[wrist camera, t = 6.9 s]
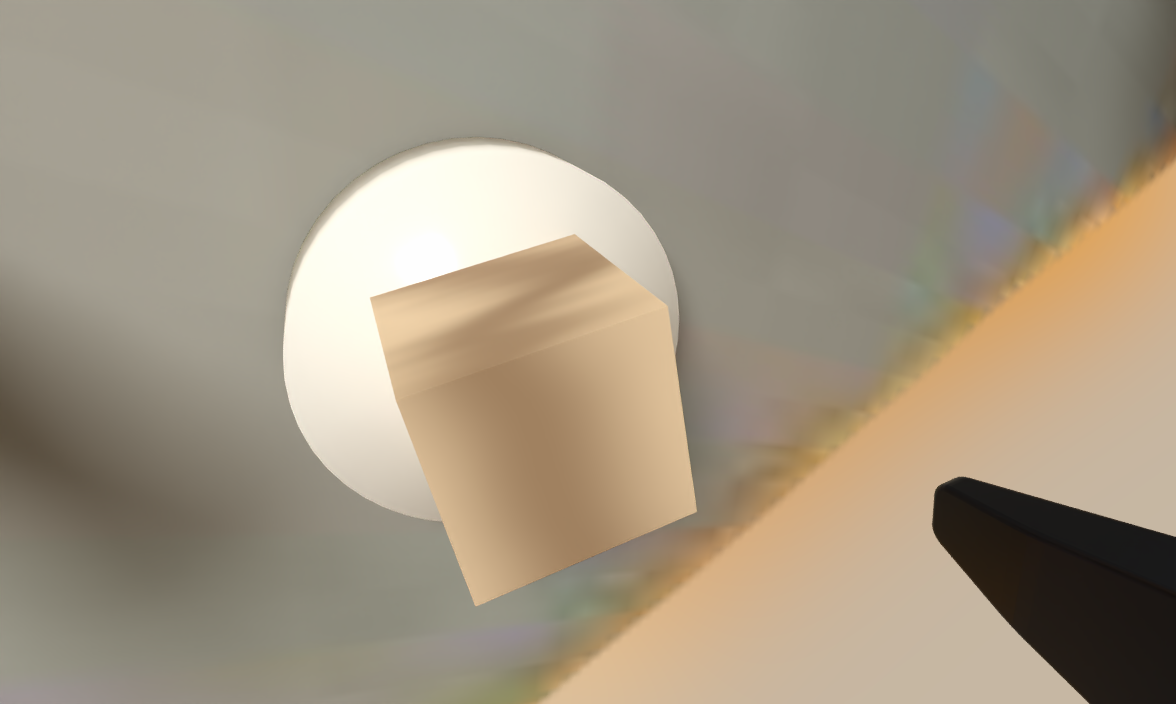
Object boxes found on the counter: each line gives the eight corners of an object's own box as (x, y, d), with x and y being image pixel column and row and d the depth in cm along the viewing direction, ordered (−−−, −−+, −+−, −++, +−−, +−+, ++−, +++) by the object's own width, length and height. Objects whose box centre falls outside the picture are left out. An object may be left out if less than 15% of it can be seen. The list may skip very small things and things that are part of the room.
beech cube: (574, 234, 17) (667, 305, 12) (609, 403, 19) (696, 511, 15) (369, 297, 16) (395, 400, 11) (434, 469, 18) (475, 606, 14)
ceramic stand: (610, 94, 18) (650, 103, 16) (661, 404, 23) (698, 443, 21) (214, 200, 16) (200, 227, 14) (364, 520, 21) (371, 576, 19)
